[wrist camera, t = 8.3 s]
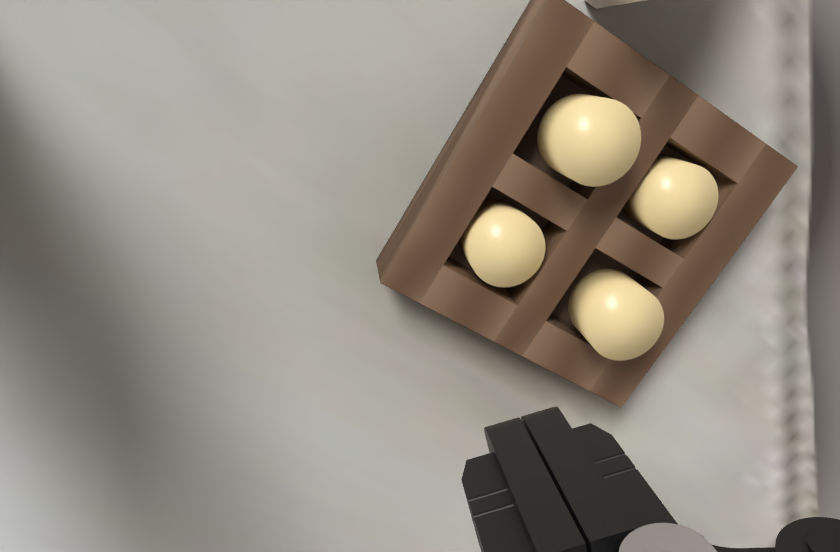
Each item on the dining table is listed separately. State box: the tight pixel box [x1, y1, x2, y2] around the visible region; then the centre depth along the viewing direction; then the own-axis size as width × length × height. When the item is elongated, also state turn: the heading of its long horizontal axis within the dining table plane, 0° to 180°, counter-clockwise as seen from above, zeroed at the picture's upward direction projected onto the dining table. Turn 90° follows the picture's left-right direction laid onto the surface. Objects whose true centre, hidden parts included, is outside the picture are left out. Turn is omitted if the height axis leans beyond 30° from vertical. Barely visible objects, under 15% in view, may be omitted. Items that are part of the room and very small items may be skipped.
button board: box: [376, 0, 798, 407], centre depth 38 cm, size 17×17×4 cm
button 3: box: [537, 94, 641, 187], centre depth 33 cm, size 4×4×3 cm
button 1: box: [459, 200, 545, 287], centre depth 37 cm, size 4×4×3 cm
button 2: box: [568, 269, 664, 361], centre depth 36 cm, size 4×4×3 cm
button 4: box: [623, 155, 718, 239], centre depth 37 cm, size 4×4×3 cm
